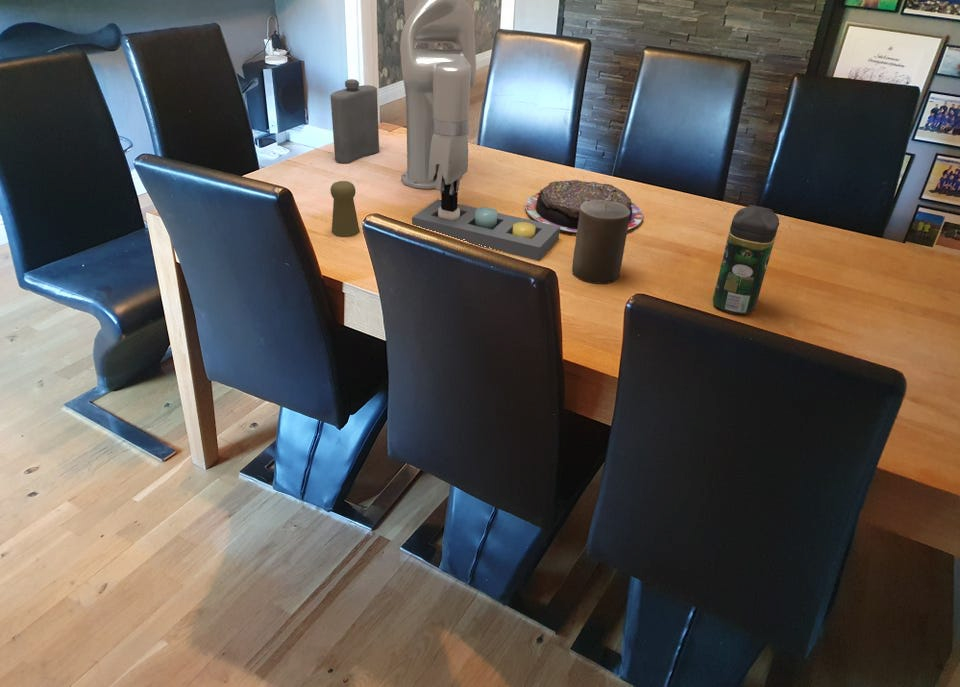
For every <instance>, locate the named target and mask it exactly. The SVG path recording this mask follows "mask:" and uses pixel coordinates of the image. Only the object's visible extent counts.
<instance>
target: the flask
mask: <svg viewBox="0 0 960 687" xmlns="http://www.w3.org/2000/svg"><path fill="white" fill-rule="evenodd" d="M344 87H345V88H342V89H338V90H336V91H334V92H332V93H331V94H330V95H329V96H330V108H331V109H330V110H331V122H332V133H333V134H332V135H333V136H332V137H333V147H334V148H333V149H334V152H333V153H334V160H335V162H336V163H338V164H344V165H345V164H351V163H353V162H354V161H357V160H360V159H362V158H364V157H368V156H372V155H377V154H378V153H379V152H380V137H379V111H378V110H379V109H378V108H379V106H378V105H379V104H378V88H377V87H376V86H374V85H369V84H368V85H360V82H359V80H357V79H354V78H352V79H351V78H348V79H346V80H345V81H344Z"/></svg>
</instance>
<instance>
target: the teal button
mask: <svg viewBox="0 0 960 687" xmlns="http://www.w3.org/2000/svg"><path fill="white" fill-rule="evenodd" d="M477 208H478V209H476V210H475V226H479V227H483V228H487V229H492V230H493V229H494V228H495V227H496V226H497V213H498V210H497V209H495V208H493V207H487V206H483V207H477Z"/></svg>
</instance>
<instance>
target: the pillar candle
mask: <svg viewBox="0 0 960 687" xmlns="http://www.w3.org/2000/svg"><path fill="white" fill-rule="evenodd" d="M629 217H630V210H629V209H628V208H627V207H626V206H624V205H622V204H619V203H617V202H610V201H603V200H597V201H588V202H583V204H582V205H581V207H580V213H579V221H578V228H577V234H575V236H576V237H575V243H574V249H573V258H572V266H571V271H572V274H573V275H575V277H576V278H578V279H579V280H582V281H583V282H587V283H593V284H610V283H613V282H616V281H617V280H618V279H619V278H620V275H621V270H622V263H623V258H624V252H625V246H626V241H627V234H628V231H627V229H628V223H629Z"/></svg>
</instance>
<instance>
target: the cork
mask: <svg viewBox="0 0 960 687" xmlns="http://www.w3.org/2000/svg"><path fill="white" fill-rule="evenodd" d="M329 190H330V195H331V198H333V203H332V206H333V207H332V220H331V222H332V223H331V234H332V235H333V236H335V237H339V238H351V237H355V236H358V234H359V233H360V232H361V231H360V225H359V220H358V215H357V211H356V205H355V200H354V197H355V196H356V190H357V189H356V187H355V185H354V184H353V183H352V182H351V181H347V180H339V181H336V182H333V183H332V184H331V186H330V189H329Z"/></svg>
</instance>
